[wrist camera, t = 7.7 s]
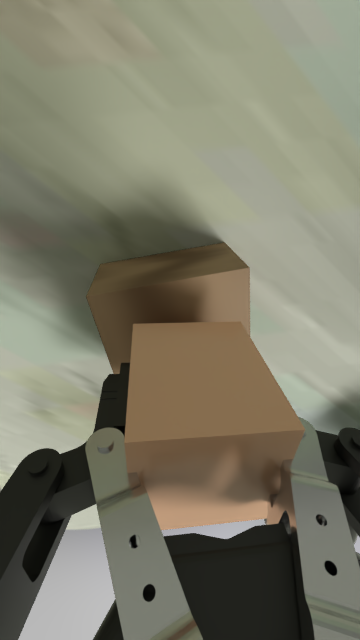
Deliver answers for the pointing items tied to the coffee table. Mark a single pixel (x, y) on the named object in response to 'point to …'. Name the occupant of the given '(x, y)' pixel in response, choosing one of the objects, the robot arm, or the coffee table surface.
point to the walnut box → (168, 294)
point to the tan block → (205, 423)
